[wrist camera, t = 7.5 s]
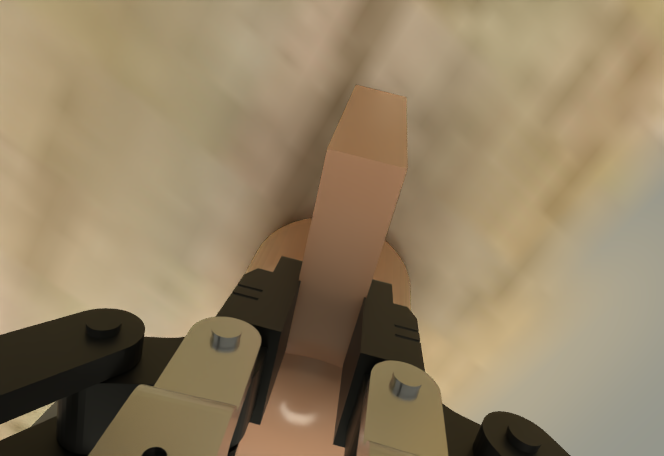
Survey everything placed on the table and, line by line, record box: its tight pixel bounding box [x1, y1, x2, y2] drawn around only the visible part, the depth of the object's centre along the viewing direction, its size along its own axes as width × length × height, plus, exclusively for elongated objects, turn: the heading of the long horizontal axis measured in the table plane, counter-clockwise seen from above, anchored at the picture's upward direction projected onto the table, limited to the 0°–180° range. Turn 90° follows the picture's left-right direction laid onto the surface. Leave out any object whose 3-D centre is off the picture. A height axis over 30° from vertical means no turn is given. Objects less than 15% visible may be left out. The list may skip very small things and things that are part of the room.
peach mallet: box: [237, 85, 411, 456], centre depth 15 cm, size 12×7×8 cm, turn 167°
